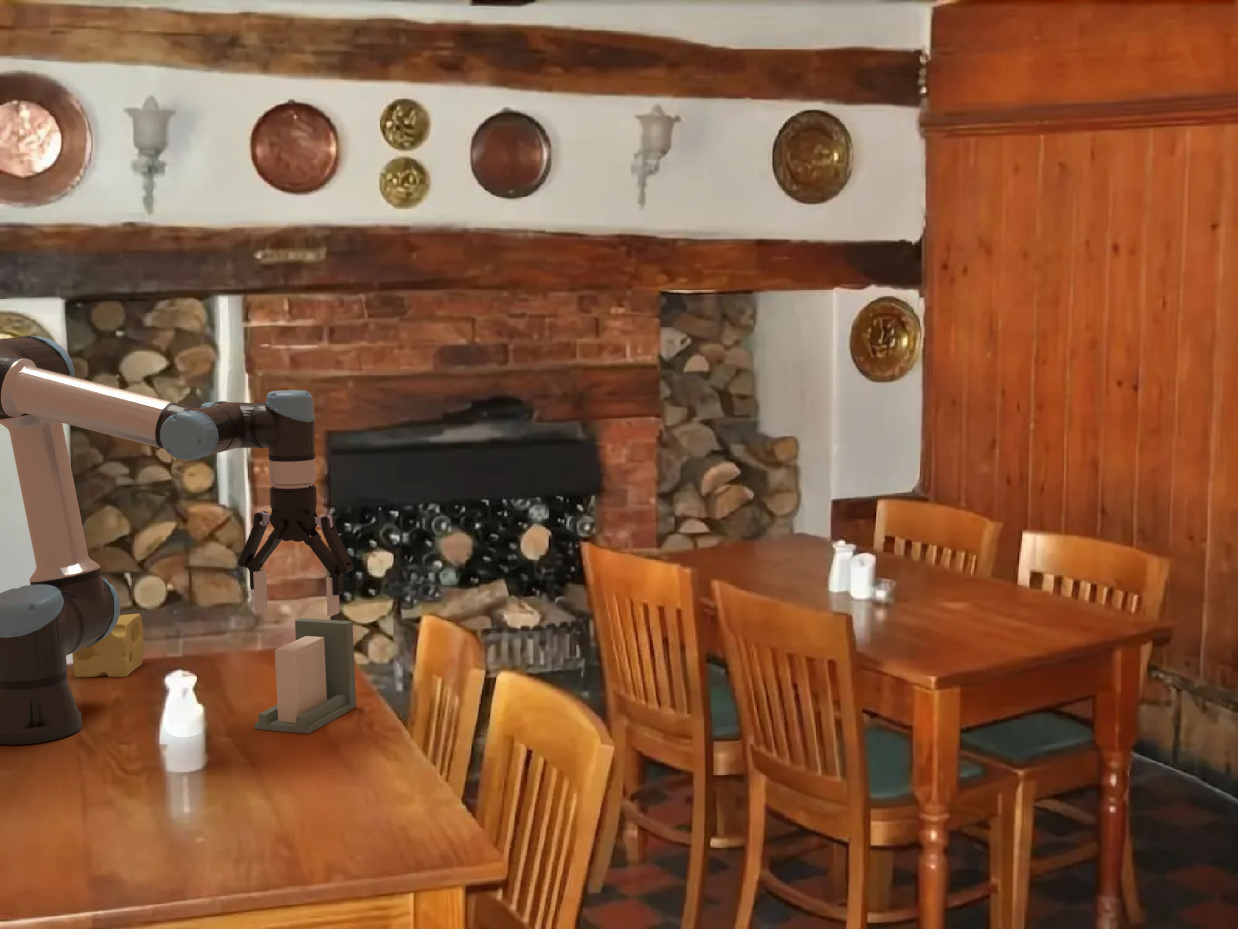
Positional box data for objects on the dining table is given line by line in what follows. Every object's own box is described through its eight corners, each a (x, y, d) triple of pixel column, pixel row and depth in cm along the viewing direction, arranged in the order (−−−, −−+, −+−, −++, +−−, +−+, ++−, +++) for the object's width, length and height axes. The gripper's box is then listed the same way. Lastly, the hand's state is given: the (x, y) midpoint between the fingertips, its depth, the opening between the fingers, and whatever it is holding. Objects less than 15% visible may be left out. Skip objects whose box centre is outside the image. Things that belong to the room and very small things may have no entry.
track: (308, 733, 250) (304, 643, 248) (254, 729, 253) (250, 639, 251) (356, 707, 265) (352, 621, 263) (304, 702, 268) (300, 618, 266)
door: (297, 723, 253) (293, 651, 251) (277, 721, 254) (274, 650, 253) (327, 706, 262) (324, 637, 261) (308, 704, 263) (305, 636, 262)
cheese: (127, 677, 288) (124, 625, 287) (70, 678, 288) (67, 626, 287) (145, 663, 298) (142, 612, 297) (90, 664, 298) (87, 613, 297)
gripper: (371, 484, 253) (375, 611, 256) (239, 478, 261) (243, 601, 264) (349, 491, 246) (353, 621, 249) (214, 484, 254) (219, 611, 257)
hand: (297, 611), depth 256 cm, fingers open, 13 cm apart
